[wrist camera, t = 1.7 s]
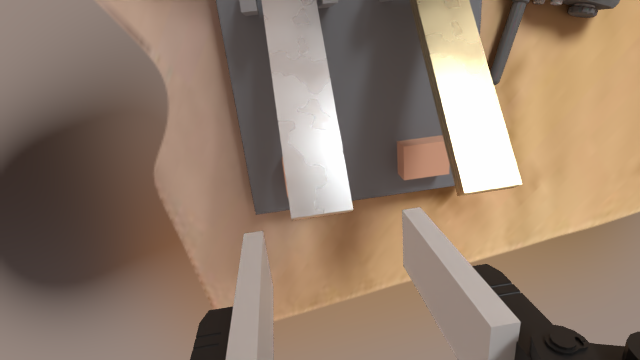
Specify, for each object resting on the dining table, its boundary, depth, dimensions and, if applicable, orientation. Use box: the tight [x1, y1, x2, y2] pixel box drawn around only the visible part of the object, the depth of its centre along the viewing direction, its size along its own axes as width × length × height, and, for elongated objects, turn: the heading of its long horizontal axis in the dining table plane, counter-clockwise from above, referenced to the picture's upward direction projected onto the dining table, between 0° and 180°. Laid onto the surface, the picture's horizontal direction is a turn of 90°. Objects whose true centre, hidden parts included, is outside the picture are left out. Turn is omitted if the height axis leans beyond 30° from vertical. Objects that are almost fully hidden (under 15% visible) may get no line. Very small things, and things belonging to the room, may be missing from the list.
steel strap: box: [261, 0, 353, 221], centre depth 23 cm, size 16×4×2 cm
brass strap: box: [410, 0, 522, 196], centre depth 23 cm, size 16×4×2 cm
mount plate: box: [216, 0, 482, 215], centre depth 29 cm, size 20×20×6 cm
